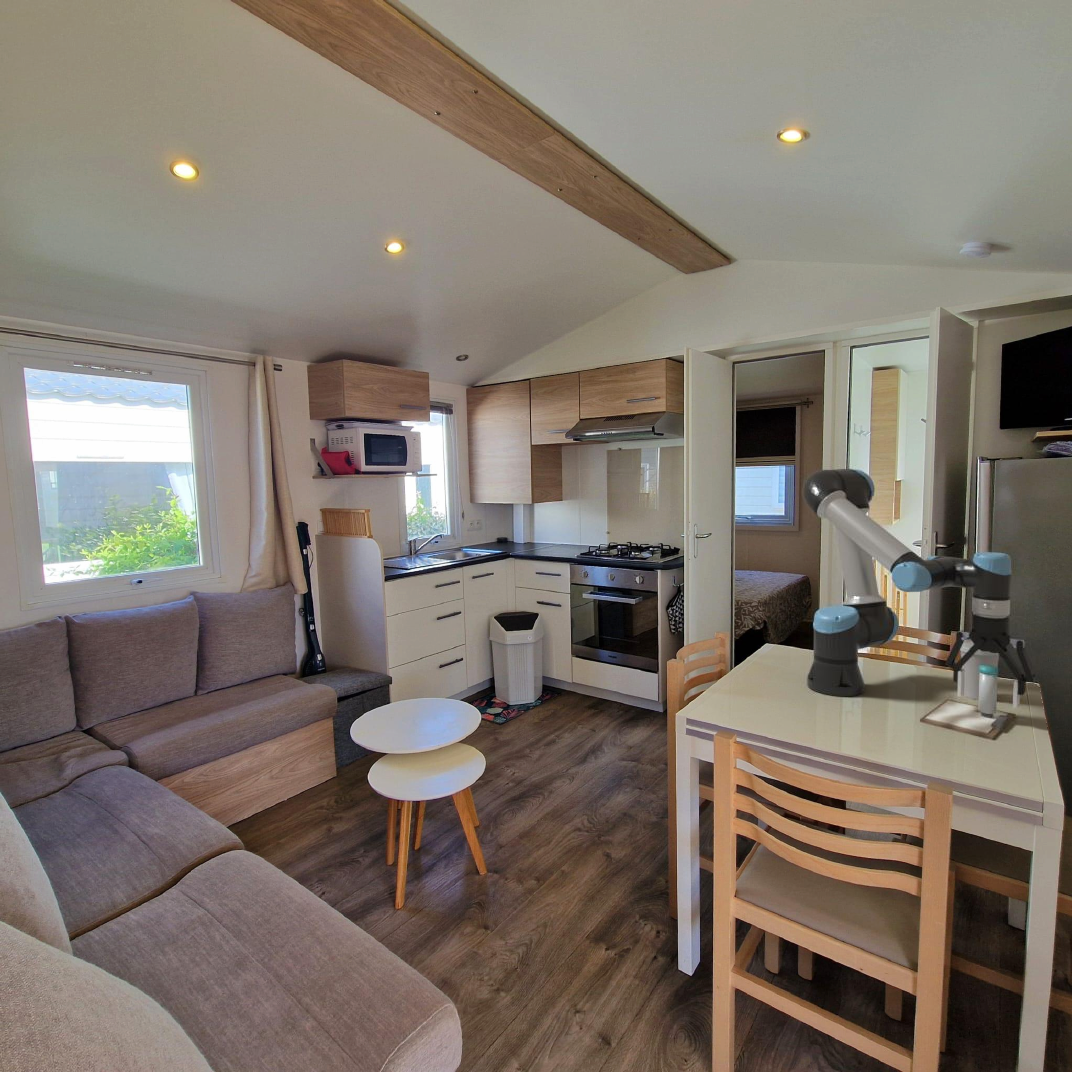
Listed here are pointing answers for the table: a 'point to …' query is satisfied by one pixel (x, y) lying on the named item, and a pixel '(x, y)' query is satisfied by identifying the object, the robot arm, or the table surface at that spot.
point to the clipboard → (967, 719)
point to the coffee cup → (975, 668)
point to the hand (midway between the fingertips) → (987, 700)
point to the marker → (987, 690)
